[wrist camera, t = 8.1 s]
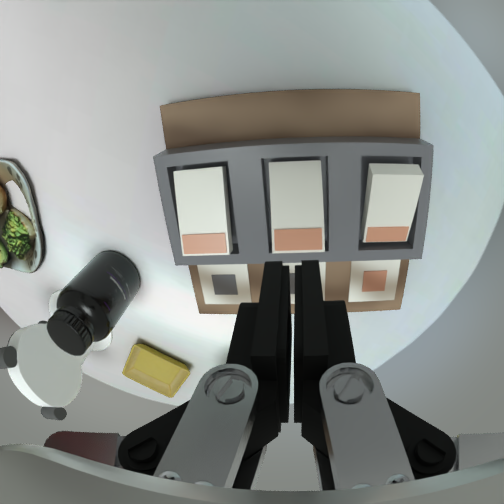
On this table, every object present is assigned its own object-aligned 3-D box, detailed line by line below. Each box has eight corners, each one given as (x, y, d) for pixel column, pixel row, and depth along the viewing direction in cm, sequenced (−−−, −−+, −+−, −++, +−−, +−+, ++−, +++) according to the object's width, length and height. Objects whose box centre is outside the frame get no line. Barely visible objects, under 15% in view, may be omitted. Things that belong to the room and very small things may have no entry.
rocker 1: (179, 170, 26) (172, 171, 25) (225, 166, 26) (221, 166, 24) (187, 251, 28) (182, 256, 27) (232, 249, 28) (229, 255, 26)
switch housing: (166, 149, 27) (153, 156, 24) (419, 138, 24) (433, 145, 21) (185, 249, 32) (175, 265, 29) (411, 243, 28) (421, 258, 26)
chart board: (168, 104, 27) (158, 105, 25) (411, 92, 24) (421, 93, 22) (203, 302, 37) (198, 315, 35) (396, 298, 34) (400, 311, 32)
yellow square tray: (194, 361, 43) (191, 373, 41) (175, 389, 47) (171, 399, 45) (139, 333, 42) (133, 344, 40) (126, 364, 46) (121, 374, 44)
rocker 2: (270, 165, 26) (268, 162, 24) (319, 163, 25) (320, 159, 24) (273, 252, 26) (272, 253, 25) (323, 250, 26) (325, 252, 24)
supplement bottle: (149, 267, 36) (101, 339, 25) (132, 305, 39) (90, 374, 29) (99, 238, 35) (40, 298, 24) (88, 278, 38) (37, 339, 28)
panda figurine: (36, 295, 41) (-20, 360, 28) (78, 276, 38) (12, 354, 25) (79, 352, 46) (37, 421, 33) (126, 344, 43) (82, 426, 30)
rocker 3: (368, 163, 22) (373, 175, 21) (418, 164, 22) (424, 176, 21) (360, 230, 27) (363, 243, 26) (402, 229, 27) (407, 242, 26)
